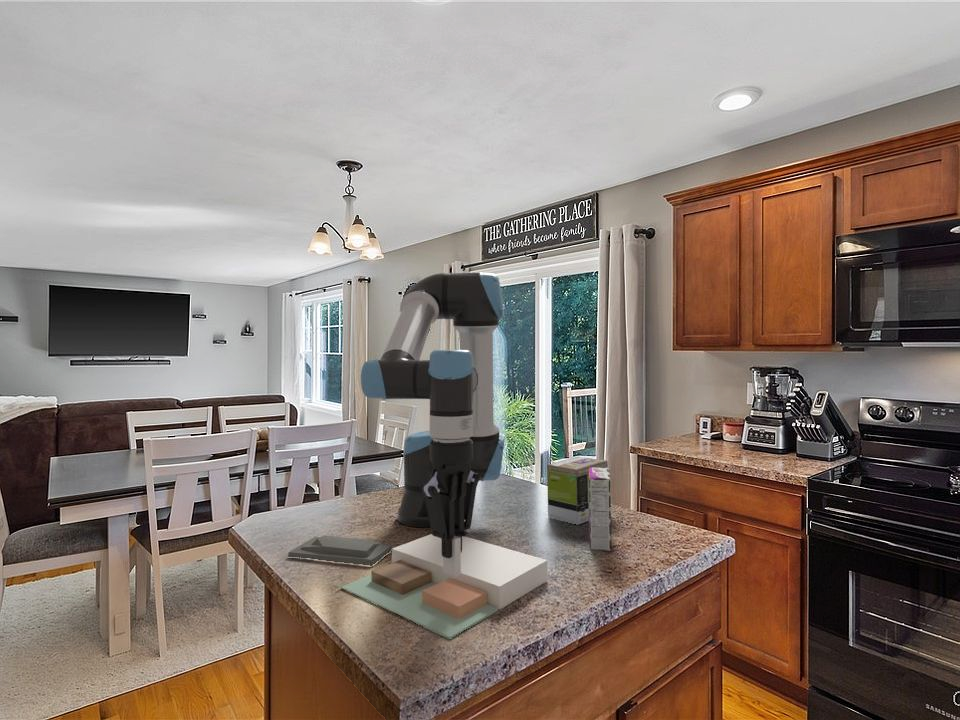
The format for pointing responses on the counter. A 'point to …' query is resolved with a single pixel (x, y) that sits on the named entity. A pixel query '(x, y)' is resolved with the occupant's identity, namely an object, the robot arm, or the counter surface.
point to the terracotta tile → (454, 597)
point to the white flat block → (479, 567)
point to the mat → (417, 607)
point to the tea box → (570, 488)
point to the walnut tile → (401, 577)
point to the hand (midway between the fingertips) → (452, 573)
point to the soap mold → (342, 550)
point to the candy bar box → (599, 509)
